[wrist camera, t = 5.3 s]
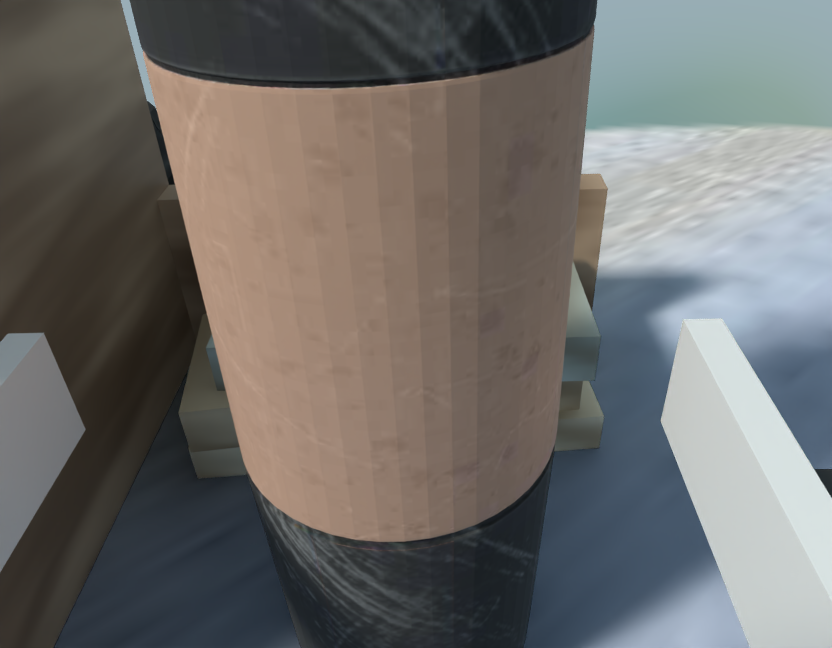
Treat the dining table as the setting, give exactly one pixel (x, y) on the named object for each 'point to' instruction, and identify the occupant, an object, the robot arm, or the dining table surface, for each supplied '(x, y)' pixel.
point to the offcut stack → (218, 440)
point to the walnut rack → (103, 278)
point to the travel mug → (385, 287)
